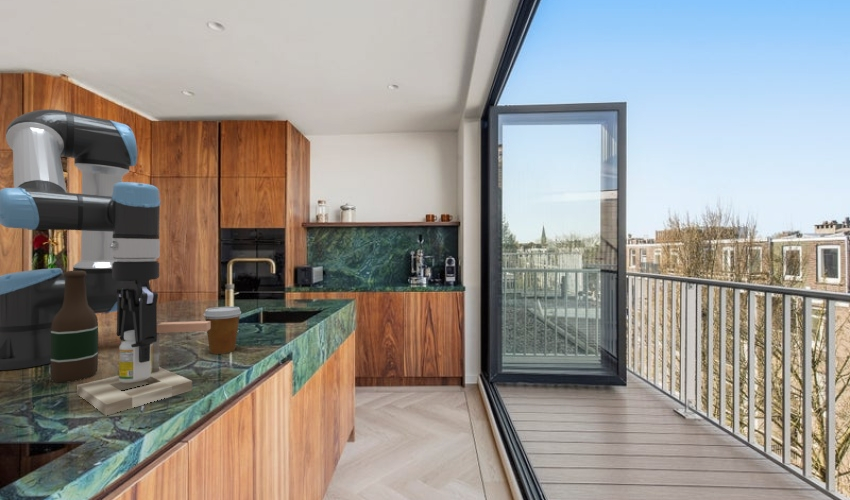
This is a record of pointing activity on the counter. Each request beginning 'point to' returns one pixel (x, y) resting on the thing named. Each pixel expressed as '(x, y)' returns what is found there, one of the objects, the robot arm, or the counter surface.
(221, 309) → the disposable coffee cup
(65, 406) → the counter surface
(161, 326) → the bar
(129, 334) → the supplement bottle
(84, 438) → the counter surface
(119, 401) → the keeper board
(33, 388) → the counter surface
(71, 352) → the beer bottle
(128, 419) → the counter surface
